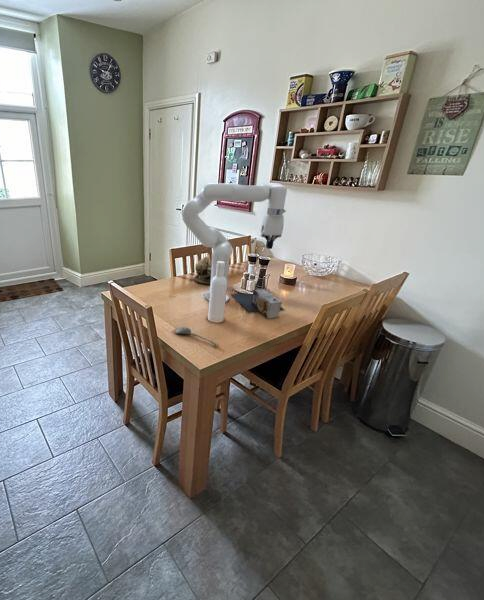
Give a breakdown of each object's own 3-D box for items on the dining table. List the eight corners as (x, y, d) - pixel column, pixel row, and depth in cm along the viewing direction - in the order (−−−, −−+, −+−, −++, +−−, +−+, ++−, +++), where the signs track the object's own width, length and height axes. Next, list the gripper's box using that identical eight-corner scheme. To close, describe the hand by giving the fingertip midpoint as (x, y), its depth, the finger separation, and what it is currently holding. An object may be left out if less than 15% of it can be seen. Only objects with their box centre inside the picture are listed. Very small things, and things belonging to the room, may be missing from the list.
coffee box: (267, 318, 166) (250, 304, 180) (278, 317, 168) (260, 303, 182) (271, 302, 162) (253, 289, 176) (282, 301, 164) (263, 288, 177)
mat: (248, 312, 173) (248, 311, 173) (231, 295, 194) (231, 294, 194) (283, 309, 176) (283, 308, 176) (262, 293, 198) (262, 292, 198)
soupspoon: (180, 329, 156) (172, 334, 152) (180, 323, 155) (171, 328, 150) (220, 343, 143) (212, 350, 138) (220, 337, 141) (212, 343, 137)
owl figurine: (221, 283, 213) (224, 257, 206) (210, 287, 206) (212, 261, 199) (200, 276, 225) (202, 252, 218) (189, 279, 218) (190, 255, 211)
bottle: (205, 317, 167) (209, 260, 155) (218, 314, 170) (223, 258, 158) (212, 323, 160) (217, 265, 148) (226, 321, 163) (232, 263, 151)
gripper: (285, 210, 166) (278, 246, 174) (257, 210, 164) (252, 246, 171) (292, 213, 160) (285, 250, 167) (264, 213, 157) (258, 250, 165)
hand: (268, 248), depth 169 cm, fingers closed
